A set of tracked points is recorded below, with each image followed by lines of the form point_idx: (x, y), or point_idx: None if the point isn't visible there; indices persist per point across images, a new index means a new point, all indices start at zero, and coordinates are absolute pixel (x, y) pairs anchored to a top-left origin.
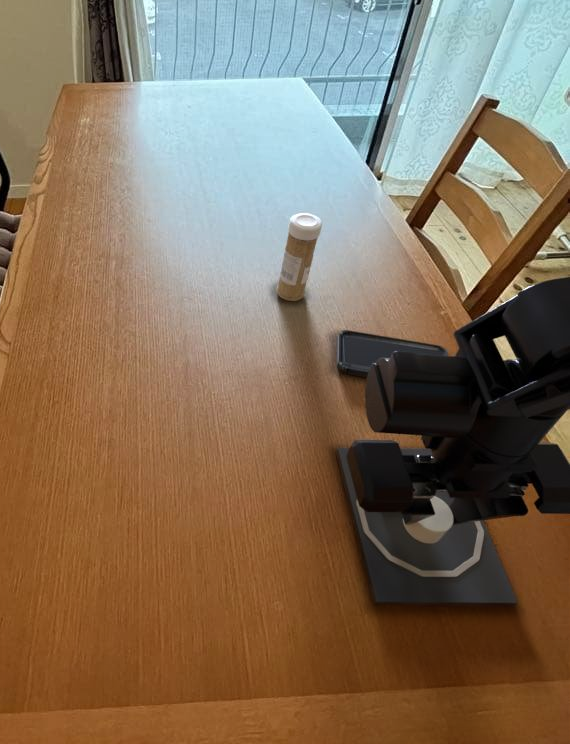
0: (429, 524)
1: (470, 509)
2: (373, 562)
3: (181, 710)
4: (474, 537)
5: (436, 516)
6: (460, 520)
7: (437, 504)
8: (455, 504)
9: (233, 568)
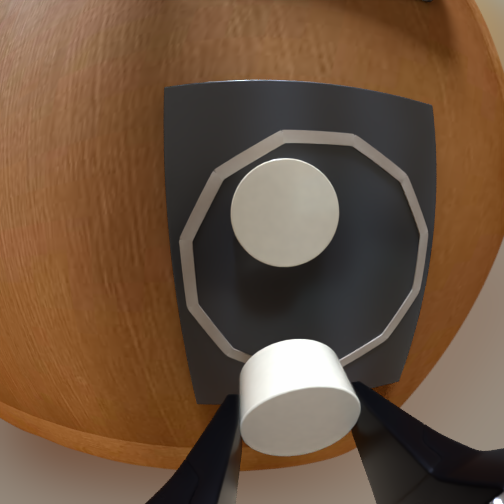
0: (279, 448)
1: (383, 483)
2: (199, 358)
3: (46, 423)
4: (401, 300)
5: (309, 433)
6: (359, 448)
7: (330, 407)
8: (373, 429)
9: (29, 335)
